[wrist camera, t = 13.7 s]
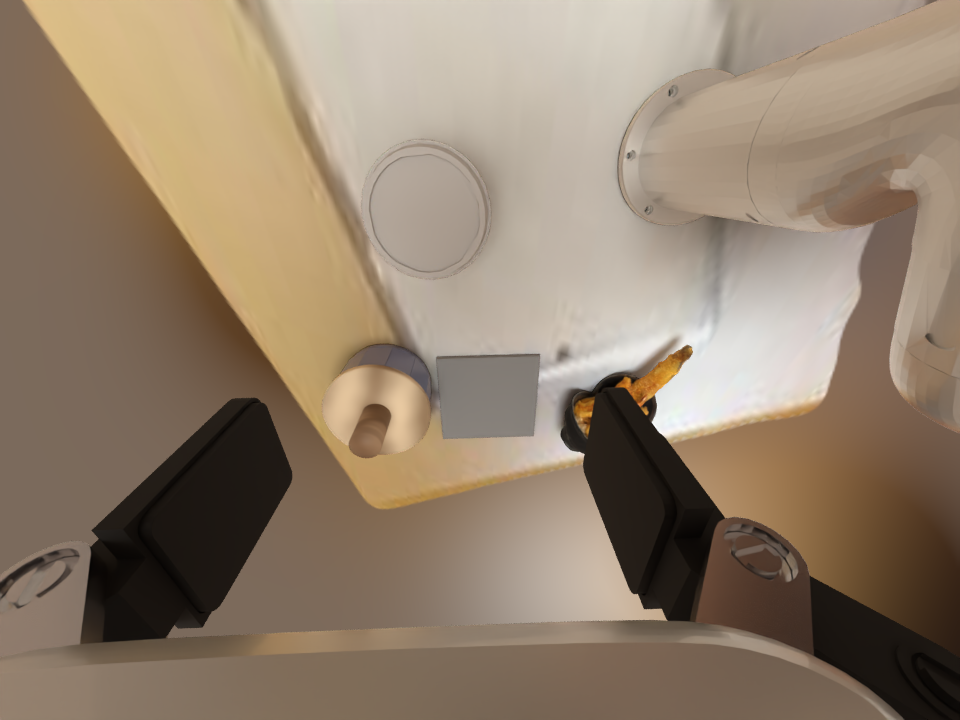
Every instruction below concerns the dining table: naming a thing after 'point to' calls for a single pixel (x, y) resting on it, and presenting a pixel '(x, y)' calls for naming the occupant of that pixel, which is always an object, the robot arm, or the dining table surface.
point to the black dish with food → (639, 390)
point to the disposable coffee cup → (426, 209)
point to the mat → (488, 395)
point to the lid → (376, 410)
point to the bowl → (393, 362)
